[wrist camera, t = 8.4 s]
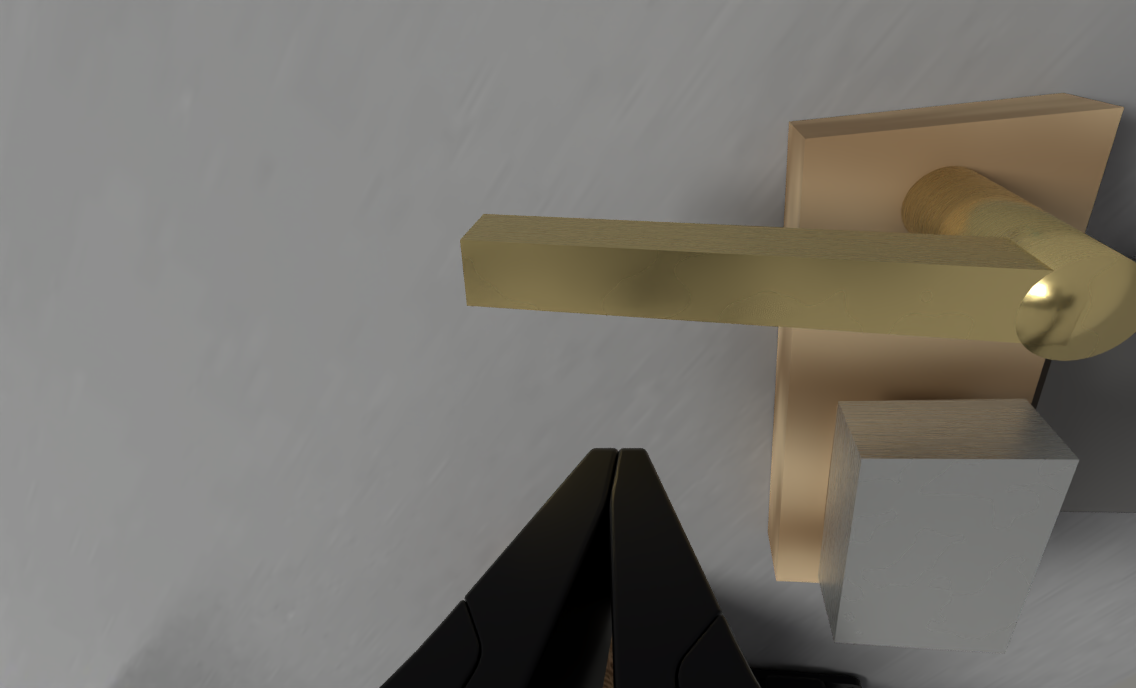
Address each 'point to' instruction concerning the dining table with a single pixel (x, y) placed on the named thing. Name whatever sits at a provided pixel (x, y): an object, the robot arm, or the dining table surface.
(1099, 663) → the dining table surface
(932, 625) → the grey flat block
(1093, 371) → the mat
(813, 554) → the latch plate
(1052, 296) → the latch lever
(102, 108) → the dining table surface
